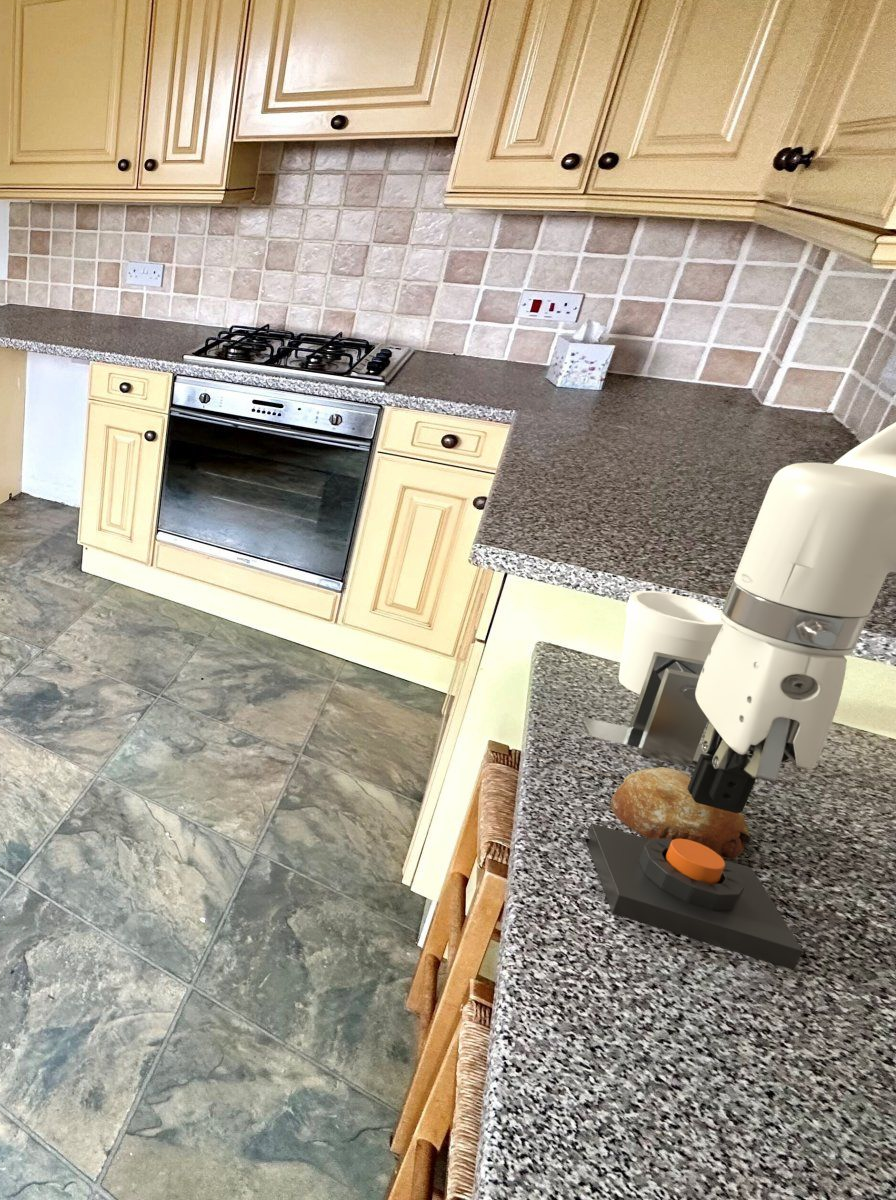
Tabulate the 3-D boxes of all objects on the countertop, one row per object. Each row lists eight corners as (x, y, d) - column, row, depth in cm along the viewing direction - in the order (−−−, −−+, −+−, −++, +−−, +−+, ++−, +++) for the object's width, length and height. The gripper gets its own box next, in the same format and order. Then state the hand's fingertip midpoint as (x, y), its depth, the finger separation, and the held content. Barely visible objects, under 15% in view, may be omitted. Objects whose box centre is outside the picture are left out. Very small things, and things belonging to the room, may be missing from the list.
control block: (744, 885, 73) (758, 852, 72) (794, 971, 64) (811, 934, 63) (584, 840, 78) (595, 808, 77) (611, 913, 70) (624, 878, 68)
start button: (710, 862, 71) (716, 847, 70) (726, 890, 68) (732, 874, 67) (659, 848, 73) (665, 833, 72) (672, 874, 69) (678, 859, 69)
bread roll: (626, 817, 86) (604, 749, 86) (757, 830, 79) (733, 754, 79) (615, 866, 80) (592, 791, 80) (757, 884, 72) (731, 802, 72)
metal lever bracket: (706, 756, 91) (742, 661, 87) (737, 804, 83) (779, 702, 79) (579, 726, 96) (607, 635, 92) (597, 769, 89) (629, 671, 85)
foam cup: (601, 667, 109) (627, 584, 105) (689, 689, 104) (720, 603, 100) (606, 698, 102) (635, 610, 98) (702, 724, 97) (736, 632, 93)
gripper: (912, 673, 54) (813, 878, 60) (808, 591, 67) (735, 767, 73) (768, 645, 58) (687, 843, 63) (695, 572, 70) (633, 742, 76)
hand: (713, 802), depth 68 cm, fingers closed
